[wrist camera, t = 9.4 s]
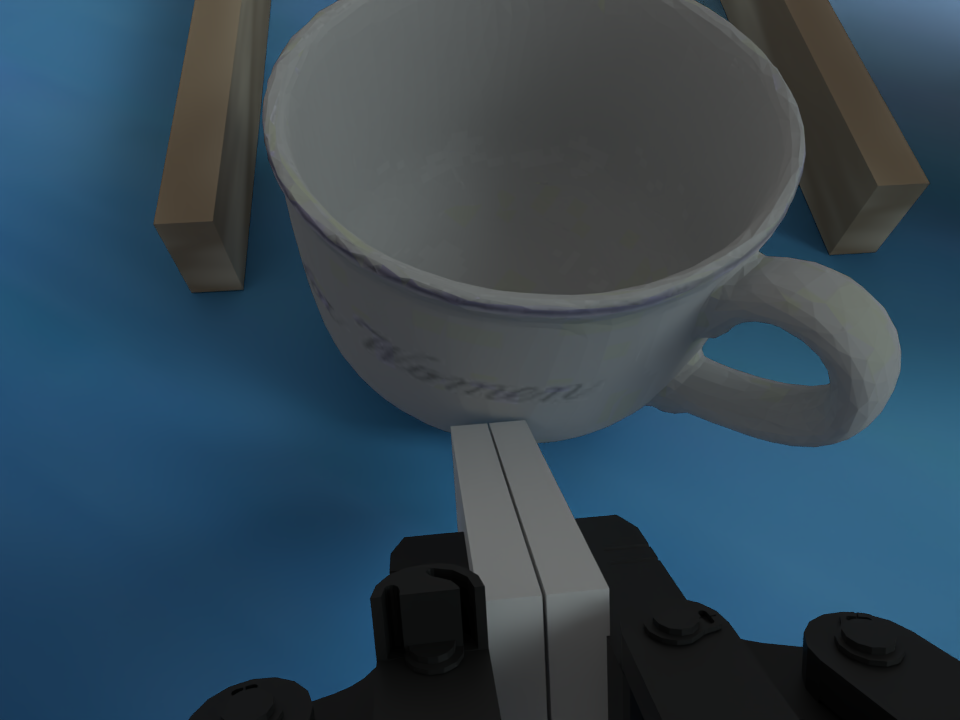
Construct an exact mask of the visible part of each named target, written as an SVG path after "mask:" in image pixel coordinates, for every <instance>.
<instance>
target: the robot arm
mask: <svg viewBox="0 0 960 720" xmlns="http://www.w3.org/2000/svg"><path fill="white" fill-rule="evenodd" d="M489 428H490V431H489ZM489 428H488V425H487V423H484V424H472V425H460V426H451V440H452V454H453V468H454V482H455V496H456V510H457V524H458V532H455V533H444V534H434V535H423V536H413V537H404V538H403V539H402V541H401V542H400V543H399V544H398V546H397V547H396V548H395V549H394V550H393V552H392V553H391V558H390V575H388V576H387V577H386V578H385V579H383V580H382V581H381V582H380V583H379V584H377V585H376V586H375V589H374V591H373V593H372V595H371V598H370V601H371V610H372V620H373V629H374V639H375V649H376V658H377V666H376V668H375V669H374V670H372V671H371V672H370V673H369V674H368V675H367V676H366V677H365V678H364V679H362V680H361V681H359V682H357V683H356V684H354V685H353V686H351V687H349V688H347V689H344V690H342V691H340V692H337V693H335V694H332V695H330V696H327V697H324V698H321V699H318V700H315V701H311V698H310V695H309V693H308V691H307V690H306V689H305V688H303V687H302V686H300V685H299V684H298V683H296V682H295V681H291V680H286V679H281V678H276V677H274V678H262V679H252V680H249V681H246V682H243V683H240V684H237V685H234V686H231V687H228V688H227V689H225V690H223V691H222V692H220V693H218V694H216V695H215V696H213V697H211V698H210V699H208V700H207V701H206V702H205V703H204V704H203V705H202V706H201V707H200V708H199V709H198V710H197V711H196V712H195V713H194V714H193V715H192V716H191V717H190V718H189V720H960V661H959V660H957V659H955V658H954V657H952V656H951V655H949V654H947V653H946V652H944V651H943V650H941V649H939V648H938V647H936V646H935V645H933V644H932V643H930V642H928V641H927V640H925V639H924V638H922V637H920V636H919V635H917V634H916V633H914V632H912V631H910V630H908V629H906V628H904V627H902V626H900V625H898V624H896V623H894V622H892V621H889V620H886V619H882V618H879V617H875V616H872V615H870V614H865V613H858V612H857V613H854V612H839V613H831V614H824V615H821V616H819V617H817V618H816V619H814V620H812V621H810V622H809V623H808V625H807V627H806V629H805V631H804V638H803V647H797V646H787V645H777V644H767V643H759V642H753V641H748V640H743V639H740V637H739V636H738V635H737V633H736V632H735V630H734V629H733V628H732V626H731V625H730V624H729V622H728V621H727V620H726V619H724V618H723V617H722V616H721V615H720V614H719V613H718V612H717V611H715V610H713V609H711V608H709V607H707V606H705V605H702V604H700V603H698V602H693V601H689V600H686V598H685V597H684V596H683V594H682V593H681V591H680V590H679V588H678V587H677V585H676V584H675V582H674V581H673V579H672V578H671V576H670V575H669V573H668V572H667V570H666V569H665V567H664V566H663V564H662V563H661V561H660V560H658V558H657V556H656V554H655V553H654V551H653V550H652V548H651V547H649V545H648V542H647V541H646V539H645V538H644V536H643V535H642V533H641V532H640V530H639V529H638V527H636V526H634V525H633V524H631V523H629V522H628V521H626V520H624V519H622V518H621V517H619V516H617V515H609V516H598V517H588V518H577V519H574V517H573V515H572V513H571V511H570V509H569V507H568V505H567V503H566V501H565V499H564V497H563V495H562V493H561V491H560V489H559V487H558V485H557V483H556V481H555V479H554V477H553V475H552V473H551V471H550V469H549V467H548V465H547V463H546V461H545V459H544V457H543V455H542V453H541V451H540V449H539V447H538V445H537V443H536V441H535V439H534V437H533V435H532V433H531V431H530V429H529V427H528V425H527V423H526V420H520V421H508V422H496V423H489Z"/></svg>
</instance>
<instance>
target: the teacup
mask: <svg viewBox="0 0 960 720" xmlns="http://www.w3.org/2000/svg"><path fill="white" fill-rule="evenodd" d="M263 130H264V142H265V146H266V150H267V154H268V160H269V163H270V165H271V168H272V170H273V173H274V175H275V178H276V180H277V182H278V184H279V186H280V188H281V190H282V191H283V193H284V194H285V198H286V202H287V207H288V211H289V215H290V220H291V224H292V227H293V231H294V235H295V238H296V242H297V245H298V249H299V252H300V256H301V260H302V263H303V266H304V269H305V273H306V276H307V279H308V282H309V285H310V288H311V291H312V294H313V296H314V299H315V301H316V304H317V306H318V309H319V311H320V314H321V316H322V319H323V321H324V324H325V326H326V328H327V329H328V331H329V333H330V335H331V337H332V339H333V341H334V342H335V344H336V346H337V347H338V349H339V351H340V352H341V354H342V355H343V357H344V358H345V359H346V360H347V361H348V363H349V364H350V365H351V366H352V368H353V369H354V370H355V371H356V372H357V374H358V375H359V376H360V377H361V378H362V379H363V380H364V381H365V382H366V383H367V384H368V385H369V386H370V387H371V388H372V389H374V390H375V391H376V392H377V393H378V394H379V395H381V396H382V397H383V398H384V399H386V400H387V401H389V402H390V403H391V404H393V405H394V406H396V407H397V408H399V409H400V410H402V411H404V412H406V413H407V414H409V415H411V416H413V417H415V418H417V419H419V420H420V421H422V422H424V423H426V424H428V425H431V426H433V427H436V428H438V429H441V430H444V431H446V432H450V433H451V426H460V425H472V424H484V423H487V425H488V428H489V423H496V422H508V421H520V420H526V423H527V425H528V427H529V429H530V431H531V433H532V435H533V437H534V439H535V441H536V443H545V442H555V441H561V440H565V439H570V438H575V437H579V436H583V435H586V434H589V433H592V432H594V431H597V430H600V429H603V428H606V427H608V426H610V425H612V424H614V423H616V422H618V421H620V420H622V419H624V418H625V417H627V416H629V415H631V414H633V413H634V412H636V411H638V410H639V409H641V408H642V407H643V406H645V405H646V406H653V407H655V408H657V409H659V410H661V411H664V412H669V413H674V414H676V413H690V414H692V415H695V416H697V417H700V418H702V419H705V420H707V421H710V422H712V423H715V424H718V425H720V426H723V427H726V428H729V429H732V430H734V431H737V432H740V433H743V434H745V435H748V436H751V437H755V438H758V439H762V440H765V441H769V442H773V443H779V444H784V445H789V446H802V447H819V446H825V445H831V444H835V443H838V442H841V441H844V440H847V439H849V438H851V437H852V436H854V435H856V434H857V433H859V432H860V431H862V430H863V429H865V428H866V427H868V426H869V425H870V424H871V422H872V421H873V420H874V419H875V418H876V417H877V416H878V415H879V414H880V413H881V412H882V410H883V408H884V407H885V405H886V403H887V401H888V400H889V398H890V396H891V394H892V393H893V391H894V389H895V385H896V382H897V379H898V376H899V373H900V368H901V349H900V344H899V338H898V333H897V330H896V328H895V326H894V324H893V322H892V321H891V319H890V317H889V315H888V313H887V312H886V310H885V308H884V307H883V306H882V305H881V304H880V303H879V302H878V301H877V300H876V299H875V298H874V297H873V296H872V295H871V294H870V293H868V292H867V291H866V290H865V289H864V288H863V287H862V286H861V285H859V284H858V283H857V282H855V281H854V280H853V279H851V278H850V277H848V276H846V275H844V274H842V273H840V272H838V271H835V270H833V269H830V268H828V267H826V266H823V265H821V264H818V263H816V262H811V261H805V260H799V259H794V258H788V257H771V256H765V255H764V254H762V253H760V252H759V249H760V248H761V247H762V246H763V245H764V244H765V243H766V241H767V240H768V239H769V238H770V237H771V236H772V234H773V233H774V231H775V230H776V228H777V227H778V225H779V224H780V222H781V221H782V220H783V218H784V217H785V215H786V213H787V211H788V208H789V206H790V204H791V202H792V200H793V198H794V196H795V193H796V190H797V188H798V185H799V182H800V179H801V176H802V172H803V167H804V161H805V155H806V152H805V136H804V126H803V122H802V119H801V116H800V112H799V109H798V105H797V103H796V101H795V99H794V97H793V95H792V93H791V91H790V89H789V87H788V86H787V84H786V83H785V81H784V79H783V78H782V76H781V74H780V72H779V71H778V69H777V68H776V67H775V66H774V65H773V64H772V63H771V62H770V60H769V59H768V58H767V56H766V55H765V54H764V53H763V51H761V50H760V49H759V48H758V47H757V46H756V45H755V44H754V43H753V42H752V41H751V40H750V39H749V38H748V37H746V36H745V35H744V34H743V33H742V32H740V31H739V30H738V29H737V28H736V27H734V26H733V25H732V24H731V23H730V22H728V21H727V20H725V19H724V18H722V17H721V16H720V15H718V14H717V13H715V12H714V11H712V10H711V9H709V8H708V7H706V6H704V5H702V4H700V3H698V2H697V1H695V0H338V1H336V2H335V3H333V4H332V5H330V6H328V7H326V8H324V9H323V10H321V11H319V12H318V13H317V14H316V15H315V16H314V17H313V18H312V19H311V20H310V21H309V22H308V23H307V24H306V25H305V26H304V27H303V28H302V29H301V30H299V31H298V32H297V33H296V34H295V35H294V36H292V38H291V39H290V41H289V42H288V44H287V45H286V46H285V48H284V49H283V51H282V53H281V54H280V56H279V58H278V60H277V62H276V63H275V65H274V67H273V69H272V73H271V75H270V77H269V79H268V83H267V90H266V93H265V97H264V101H263ZM743 322H762V323H768V324H773V325H775V326H778V327H781V328H782V329H784V330H786V331H787V332H789V333H791V334H792V335H794V336H796V337H797V338H799V339H800V340H802V341H803V342H805V343H806V344H807V345H808V346H809V347H810V348H811V349H812V350H813V351H814V352H815V353H816V354H817V355H818V356H819V357H820V359H821V360H822V362H823V363H824V365H825V367H826V368H827V370H828V374H829V379H830V384H827V385H818V386H805V385H795V384H786V383H782V382H777V381H773V380H769V379H764V378H760V377H757V376H754V375H751V374H748V373H744V372H741V371H738V370H735V369H732V368H730V367H727V366H725V365H722V364H720V363H717V362H715V361H713V360H711V359H709V358H707V357H705V356H704V354H703V351H702V347H703V345H704V344H705V342H706V341H707V340H708V338H716V337H718V336H720V335H722V334H724V333H726V332H728V331H729V330H730V329H731V328H733V327H734V326H735V325H738V324H741V323H743ZM489 431H490V428H489Z"/></svg>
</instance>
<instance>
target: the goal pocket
mask: <svg viewBox="0 0 960 720" xmlns="http://www.w3.org/2000/svg"><path fill="white" fill-rule="evenodd" d="M720 1H721V3H722V6H723V8H724V10H725V13H726V15H727V17H728V20H729V22H730V23H731V24H732V25H733V26H734V27H736V28H737V29H738V30H739V31H740V32H742V33H743V34H744V35H745V36H746V37H748V38H749V39H750V40H751V41H752V42H753V43H754V44H755V45H756V46H757V47H758V48H759V49H760V50H761V51H763V53H764V54H765V55H766V56H767V58H768V59H769V60H770V62H771V63H772V64H773V65H774V66H775V67H776V68H777V69H778V71H779V72H780V74H781V76H782V78H783V79H784V81H785V83H786V84H787V86H788V87H789V89H790V91H791V93H792V95H793V97H794V99H795V101H796V103H797V105H798V109H799V112H800V116H801V119H802V122H803V126H804V136H805V152H806V155H805V161H804V167H803V172H802V176H801V179H800V182H799V185H800V187H801V190H802V192H803V194H804V197H805V199H806V201H807V204H808V206H809V208H810V210H811V213H812V215H813V217H814V220H815V222H816V224H817V227H818V229H819V231H820V234H821V236H822V238H823V241H824V243H825V245H826V248H827V250H828V252H829V255H837V254H854V253H871V252H876V251H877V250H878V249H879V247H880V246H881V245H882V244H883V242H884V241H885V240H886V238H887V237H888V236H889V235H890V233H891V232H892V231H893V230H894V228H895V227H896V226H897V224H898V223H899V222H900V221H901V219H902V218H903V217H904V216H905V214H906V213H907V212H908V210H909V209H910V208H911V207H912V205H913V204H914V203H915V202H916V200H917V199H918V198H919V196H920V195H921V194H922V193H923V191H924V190H925V189H926V188H927V186H928V185H929V184H930V182H929V181H928V179H927V177H926V175H925V174H924V172H923V170H922V168H921V166H920V165H919V163H918V161H917V159H916V157H915V156H914V154H913V152H912V150H911V148H910V147H909V145H908V143H907V141H906V139H905V138H904V136H903V134H902V132H901V130H900V129H899V127H898V125H897V123H896V121H895V120H894V118H893V116H892V114H891V112H890V111H889V109H888V107H887V105H886V103H885V102H884V100H883V98H882V96H881V94H880V93H879V91H878V89H877V87H876V85H875V84H874V82H873V80H872V78H871V76H870V75H869V73H868V71H867V69H866V67H865V66H864V64H863V62H862V60H861V58H860V57H859V55H858V53H857V51H856V49H855V48H854V46H853V44H852V42H851V40H850V39H849V37H848V35H847V33H846V32H845V30H844V28H843V26H842V24H841V23H840V21H839V19H838V17H837V15H836V14H835V12H834V10H833V8H832V6H831V5H830V3H829V1H828V0H720ZM270 6H271V0H195V3H194V8H193V14H192V19H191V24H190V30H189V35H188V41H187V46H186V51H185V57H184V62H183V68H182V73H181V78H180V84H179V89H178V95H177V100H176V105H175V111H174V116H173V122H172V127H171V132H170V138H169V143H168V149H167V154H166V159H165V165H164V170H163V176H162V181H161V186H160V192H159V197H158V203H157V208H156V213H155V219H154V226H155V228H156V230H157V232H158V233H159V235H160V237H161V239H162V241H163V242H164V244H165V246H166V248H167V249H168V251H169V253H170V255H171V257H172V258H173V260H174V262H175V264H176V266H177V267H178V269H179V271H180V273H181V275H182V276H183V278H184V280H185V282H186V284H187V285H188V287H189V289H190V291H191V293H195V292H212V291H228V290H243V288H244V277H245V267H246V256H247V246H248V235H249V225H250V215H251V204H252V194H253V183H254V173H255V163H256V152H257V142H258V131H259V121H260V110H261V100H262V90H263V79H264V69H265V58H266V48H267V37H268V27H269V17H270Z"/></svg>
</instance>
